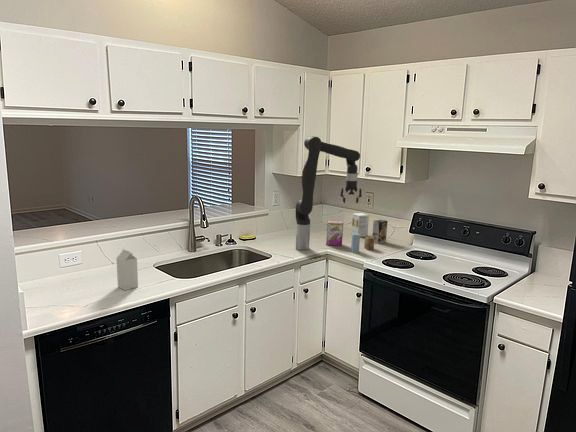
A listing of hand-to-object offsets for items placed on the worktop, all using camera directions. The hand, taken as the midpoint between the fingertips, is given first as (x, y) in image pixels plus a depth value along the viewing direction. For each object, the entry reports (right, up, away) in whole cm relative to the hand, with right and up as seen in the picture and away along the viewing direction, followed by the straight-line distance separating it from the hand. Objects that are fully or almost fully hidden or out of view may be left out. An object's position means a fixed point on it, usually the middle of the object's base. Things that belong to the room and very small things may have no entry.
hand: (350, 203), depth 309 cm
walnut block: (+12, -32, -3) cm, 34 cm away
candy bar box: (-11, -30, +6) cm, 32 cm away
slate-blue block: (+1, -33, -11) cm, 35 cm away
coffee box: (+23, -28, +16) cm, 40 cm away
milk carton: (-123, -45, -87) cm, 157 cm away
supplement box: (+12, -24, +35) cm, 45 cm away
